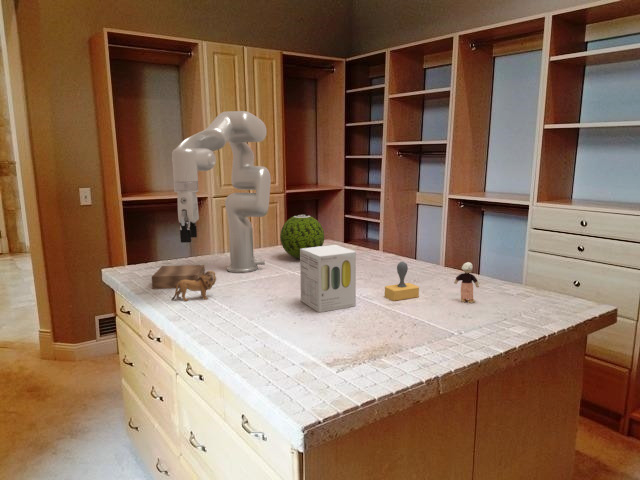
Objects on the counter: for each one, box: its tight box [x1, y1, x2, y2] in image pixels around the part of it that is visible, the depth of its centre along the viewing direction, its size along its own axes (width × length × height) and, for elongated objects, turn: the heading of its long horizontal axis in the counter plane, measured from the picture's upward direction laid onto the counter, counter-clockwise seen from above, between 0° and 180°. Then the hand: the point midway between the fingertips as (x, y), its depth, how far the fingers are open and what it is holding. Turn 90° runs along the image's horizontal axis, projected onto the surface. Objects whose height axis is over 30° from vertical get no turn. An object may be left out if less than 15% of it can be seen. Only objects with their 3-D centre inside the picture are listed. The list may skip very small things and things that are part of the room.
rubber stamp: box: [384, 261, 420, 302], centre depth 153 cm, size 10×6×12 cm, turn 114°
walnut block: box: [151, 264, 206, 290], centre depth 174 cm, size 16×16×5 cm
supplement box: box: [299, 244, 357, 313], centre depth 146 cm, size 13×13×18 cm
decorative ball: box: [280, 214, 325, 260], centre depth 210 cm, size 20×20×20 cm
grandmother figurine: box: [453, 261, 480, 304], centre depth 148 cm, size 8×4×13 cm, turn 71°
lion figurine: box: [171, 270, 217, 302], centre depth 153 cm, size 15×5×9 cm, turn 111°
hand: (189, 239), depth 153 cm, fingers open, 9 cm apart
